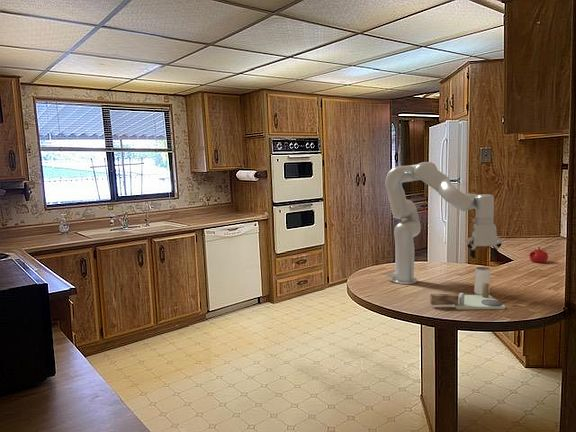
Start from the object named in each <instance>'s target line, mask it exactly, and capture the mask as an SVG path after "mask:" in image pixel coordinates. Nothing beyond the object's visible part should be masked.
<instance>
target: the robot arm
mask: <svg viewBox="0 0 576 432" xmlns="http://www.w3.org/2000/svg"><path fill="white" fill-rule="evenodd" d="M414 181H415V182H416V181H422V182H423V183H425V184H426V185H427V186H429V187H430V188H432V189H433V190H434V191H436V192H437V193H438V195H440V197H441V198H442V199H444V200H445V202H447V203H448V204H449V205H451V206H452V207H454V208H455V209H457V210H458V211H462V212H467V211H469V210H473V209H474V210H475V218H472V222H473V223H474V224H473V227H472V233H471V236H470V237H468V238H466V239H464V243H465V245H466V247H468V249H469V250H470V251H469V256H470V258H471V259H476V250H475V249H476V247H492V249H491V257H492V258H494V259H497V256H498V250H499V249H500V247H501V246H502V244H503V243H504V239H502V238H501V237H498V233H497V232H498V231H497V227H496V223H494V215H495V214H494V212H495V211H494V210H495V207H494V206H495V198H494V195H493V194H487V193H486V194H485V193H484V194H477V193H463V192H462V191H460V190H459V189H458V188H457V187H456V186H454V184H453V183H452V182H451V179H450V177H449V176H448V175H446V174H444V173H443V172H442V171H440V170H438V167H437V165H436V164H435V163H434V162H432V161H423V162H419V163H417V164H410V165H399V166H394V167H393V168H391V169H390V170H389V171H388V173H387V174H386V177H385V180H384V183H385V189H386V193H387V198H388V202H389V205H390V212H391V214H392V216H393V217H394V218H395V219H396V220H397V219H398V220H401V221H400V222H398V223H397V224H396V225H395V227H394V228H393V229H394V230H393V236H394V237H393V238H394V244H395V248H394V251H395V252H394V253H395V255H394V256H395V260H394V263H395V265H394V269H395V270H394V271H393V272H392V273H386V274H385V277H386V278H389V279H391V281H392V282H393V283H396V284H399V285H412V284H416V283H417V282H418V279H417V277H415V243H414V242H415V241H414V238H415V237H417V236H418V235H419V234H420V232H421V229H422V227H421V221H420V217H419V213H418V210H417V209H418V208H417V206H416V204H415V202H413V201H412V200H410V199H407V197H406V192H405V189H404V187H403V185H402V184H403V183H410V182H414ZM470 242H471V244H470Z"/></svg>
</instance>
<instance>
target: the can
mask: <svg viewBox="0 0 576 432" xmlns="http://www.w3.org/2000/svg"><path fill="white" fill-rule="evenodd" d="M490 280H491V272H490V268H489V267H483V266H477V267H476V268H475V270H474V284H473V285H474V286H473V287H474V288H473V292H474V295H482V287H483V283H488V284H489V287H490V285H491V284H490V282H491V281H490Z"/></svg>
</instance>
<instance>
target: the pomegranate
mask: <svg viewBox="0 0 576 432" xmlns="http://www.w3.org/2000/svg"><path fill="white" fill-rule="evenodd" d="M548 254H549V253H548V252H547V251H545V249H544V248H542V249H541V247H540V246H538V249H537V248H535V249H532V250H531V252H530V253H529V255H528V256H529V260H530V262H532V263H536V264H544V263H546V262H548V258H549V255H548Z"/></svg>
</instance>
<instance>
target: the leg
mask: <svg viewBox="0 0 576 432" xmlns="http://www.w3.org/2000/svg"><path fill="white" fill-rule="evenodd" d="M459 295H460V294H458V293H430V295H429V297H430V298H429V299H430V301H429V303H430V305H432V306H436V305H437V306H440V305H441V306H448V305H451V306H453V305H458V304H459Z"/></svg>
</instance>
